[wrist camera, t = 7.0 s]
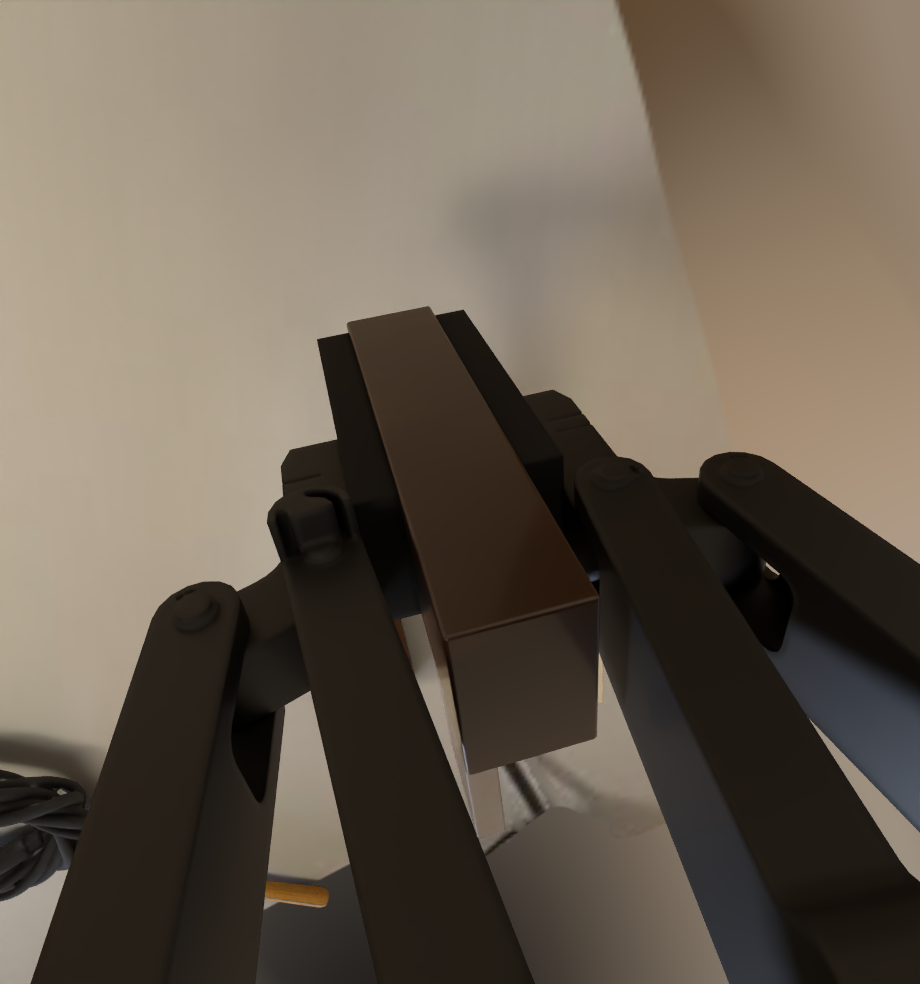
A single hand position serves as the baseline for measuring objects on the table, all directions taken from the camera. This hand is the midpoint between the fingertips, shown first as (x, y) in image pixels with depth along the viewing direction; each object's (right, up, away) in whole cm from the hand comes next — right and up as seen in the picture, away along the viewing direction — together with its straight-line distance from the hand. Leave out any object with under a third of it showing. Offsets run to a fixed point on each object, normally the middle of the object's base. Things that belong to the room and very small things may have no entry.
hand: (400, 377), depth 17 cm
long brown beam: (+1, -5, +4) cm, 7 cm away
